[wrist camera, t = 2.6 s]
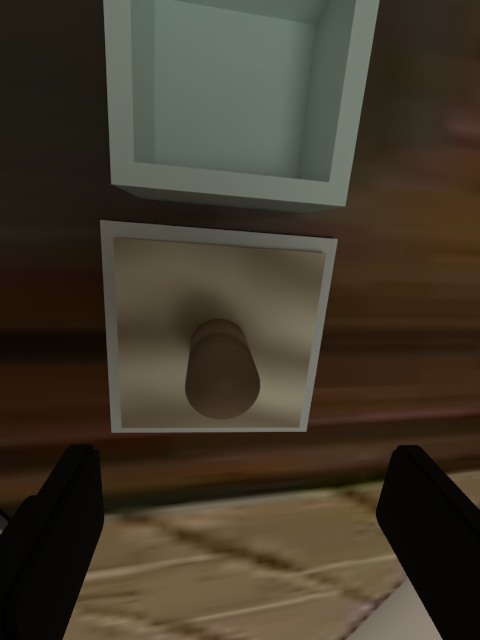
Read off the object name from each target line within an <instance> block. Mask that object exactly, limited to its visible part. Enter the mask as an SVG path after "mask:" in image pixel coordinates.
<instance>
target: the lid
mask: <svg viewBox="0 0 480 640" xmlns="http://www.w3.org/2000/svg"><path fill="white" fill-rule="evenodd" d="M113 242H114V265H115V289H116V312H117V335H118V358H119V381H120V404H121V428H299V426H300V420H301V413H302V407H303V400H304V394H305V388H306V381H307V375H308V368H309V362H310V355H311V349H312V343H313V336H314V330H315V323H316V317H317V310H318V304H319V298H320V291H321V285H322V278H323V272H324V265H325V259H326V253H321V252H307V251H294V250H280V249H267V248H253V247H240V246H226V245H213V244H199V243H185V242H172V241H158V240H145V239H131V238H118V237H116V238H113Z"/></svg>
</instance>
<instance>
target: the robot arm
mask: <svg viewBox="0 0 480 640" xmlns="http://www.w3.org/2000/svg"><path fill="white" fill-rule="evenodd" d="M376 518H377V521H378V524H379V526H380V527H381V529H382V531H383V533H384V535H385V536H386V538H387V540H388V542H389V544H390V545H391V547H392V549H393V551H394V553H395V554H396V556H397V558H398V560H399V562H400V563H401V565H402V567H403V569H404V571H405V572H406V574H407V576H408V578H409V580H410V581H411V583H412V585H413V586H414V589H415V590H416V592H417V594H418V596H419V598H420V599H421V601H422V603H423V605H424V607H425V608H426V610H427V612H428V614H429V616H430V617H431V619H432V621H433V623H434V625H435V626H436V628H437V630H438V632H439V634H440V635H441V637H442V639H443V640H480V510H479V509H478V508H477V507H476V506H475V505H474V504H473V502H472V501H471V500H470V499H469V498H468V497H467V496H466V495H465V494H464V493H463V492H462V491H461V490H460V489H459V488H458V486H457V485H456V484H455V483H454V482H453V481H452V480H451V479H450V478H449V477H448V476H447V475H446V474H445V473H444V472H443V470H442V469H441V468H440V467H439V466H438V465H437V464H436V463H435V462H434V461H433V460H432V459H431V458H430V457H429V456H428V454H427V453H426V452H425V451H424V450H423V449H422V448H421V447H419V446H417V445H399V446H398V447H397V449H396V450H394V451H393V453H392V456H391V459H390V463H389V466H388V470H387V473H386V477H385V481H384V484H383V488H382V491H381V495H380V498H379V502H378V505H377V509H376ZM103 524H104V508H103V496H102V483H101V470H100V457H99V451H98V450H93V446H92V445H91V444H71V445H70V446H69V447H68V448H67V449H66V451H65V452H64V454H63V456H62V457H61V459H60V460H59V462H58V463H57V465H56V466H55V468H54V469H53V471H52V472H51V474H50V475H49V477H48V479H47V480H46V482H45V483H44V485H43V486H42V488H41V489H40V491H39V492H38V494H37V495H33V496H29V497H28V498H26V499H25V500H24V501H23V503H22V504H21V505H20V507H19V508H18V510H17V511H16V512H15V514H14V515H13V517H12V518H11V520H10V521H9V522H8V521H7V520H6V519H5V518H4V517H3V516H2V515H0V640H62V639H63V637H64V634H65V631H66V628H67V626H68V623H69V620H70V617H71V615H72V612H73V609H74V606H75V604H76V601H77V598H78V595H79V593H80V590H81V587H82V584H83V581H84V579H85V576H86V573H87V570H88V568H89V565H90V562H91V559H92V557H93V554H94V551H95V548H96V546H97V543H98V540H99V537H100V535H101V532H102V528H103Z"/></svg>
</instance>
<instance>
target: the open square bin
mask: <svg viewBox="0 0 480 640" xmlns="http://www.w3.org/2000/svg"><path fill="white" fill-rule="evenodd" d="M103 2H104V26H105V49H106V72H107V96H108V119H109V142H110V166H111V184H112V185H114V186H116V187H118V188H120V189H122V190H124V191H126V192H129V193H131V194H133V195H135V196H137V197H139V198H141V199H148V200H159V201H170V202H181V203H192V204H204V205H215V206H226V207H237V208H248V209H259V210H270V211H281V212H292V213H303V214H304V213H310V212H316V211H322V210H328V209H333V208H339V207H345V205H346V199H347V193H348V187H349V181H350V175H351V169H352V163H353V157H354V150H355V144H356V138H357V132H358V126H359V120H360V114H361V108H362V102H363V96H364V90H365V84H366V78H367V72H368V66H369V60H370V54H371V48H372V42H373V36H374V30H375V24H376V18H377V12H378V6H379V0H103Z"/></svg>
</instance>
